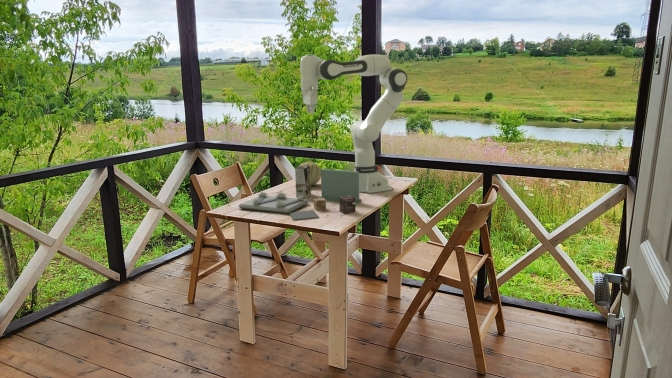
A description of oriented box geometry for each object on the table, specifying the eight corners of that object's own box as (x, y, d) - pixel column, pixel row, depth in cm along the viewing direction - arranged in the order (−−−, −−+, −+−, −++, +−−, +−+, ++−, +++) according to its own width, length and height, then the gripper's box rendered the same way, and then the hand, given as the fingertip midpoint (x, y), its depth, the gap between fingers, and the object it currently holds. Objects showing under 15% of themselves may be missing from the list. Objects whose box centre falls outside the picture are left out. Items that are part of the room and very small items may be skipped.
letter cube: (323, 207, 243) (323, 197, 242) (326, 210, 238) (325, 199, 237) (314, 208, 242) (313, 198, 240) (316, 211, 237) (315, 200, 236)
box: (344, 214, 230) (343, 199, 228) (339, 211, 235) (338, 196, 233) (355, 212, 232) (355, 197, 230) (350, 209, 237) (350, 195, 236)
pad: (313, 211, 236) (313, 210, 236) (319, 217, 225) (318, 216, 225) (289, 213, 233) (289, 212, 233) (293, 220, 222) (293, 219, 222)
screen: (319, 199, 258) (318, 170, 255) (325, 196, 263) (324, 168, 260) (356, 203, 248) (355, 173, 244) (361, 201, 253) (360, 170, 249)
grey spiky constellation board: (237, 209, 244) (236, 195, 242) (261, 199, 263) (260, 186, 261) (289, 214, 231) (288, 200, 230) (310, 203, 250) (309, 190, 249)
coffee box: (307, 197, 264) (306, 168, 260) (296, 197, 265) (294, 168, 261) (311, 193, 272) (310, 165, 269) (300, 193, 274) (299, 165, 270)
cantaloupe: (293, 187, 288) (291, 162, 285) (303, 182, 302) (302, 158, 298) (315, 188, 283) (314, 163, 280) (325, 183, 296) (324, 159, 293)
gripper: (319, 86, 243) (320, 114, 246) (311, 86, 262) (312, 111, 266) (307, 87, 242) (308, 114, 245) (300, 86, 261) (301, 112, 264)
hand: (310, 113), depth 255 cm, fingers open, 8 cm apart
